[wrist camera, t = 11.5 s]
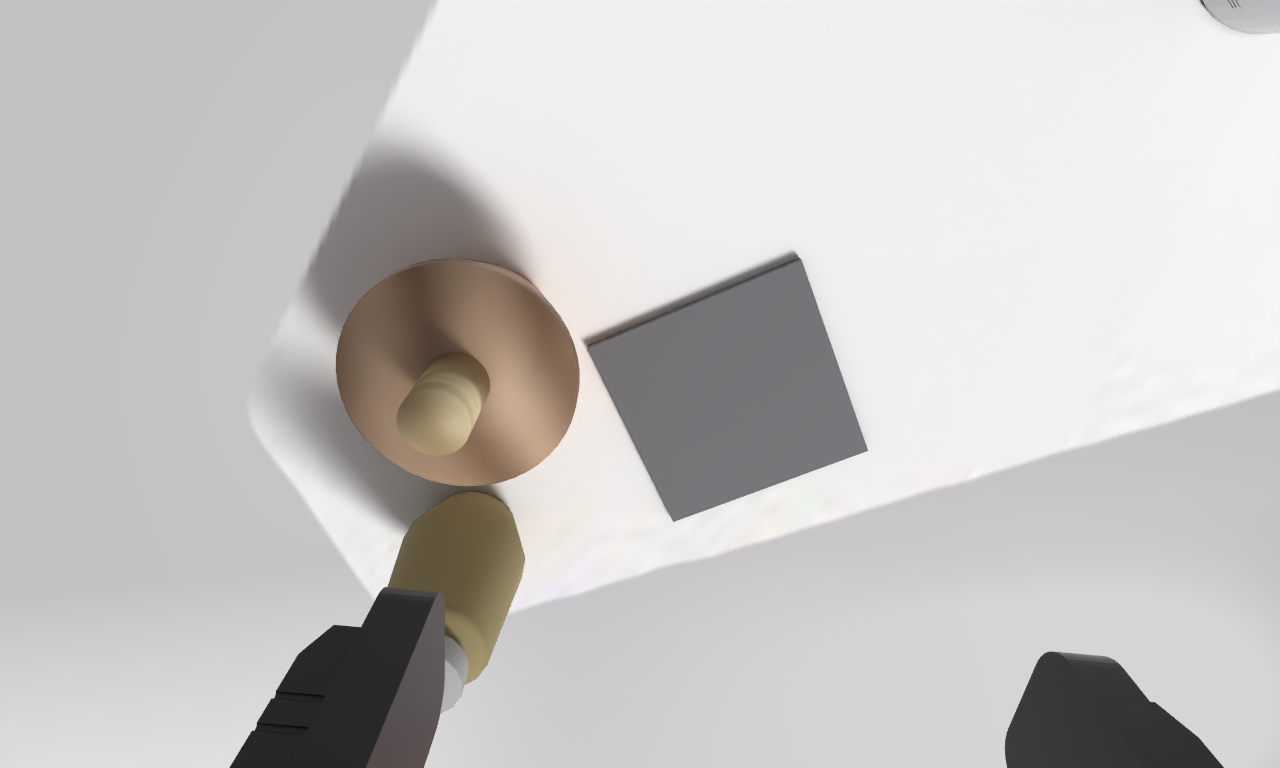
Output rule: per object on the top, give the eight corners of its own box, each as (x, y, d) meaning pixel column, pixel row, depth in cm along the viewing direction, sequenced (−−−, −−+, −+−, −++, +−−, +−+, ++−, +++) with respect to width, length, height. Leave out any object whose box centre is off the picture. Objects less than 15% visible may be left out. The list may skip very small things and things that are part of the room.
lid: (512, 218, 36) (489, 244, 31) (617, 427, 41) (614, 484, 35) (297, 316, 38) (237, 358, 33) (420, 505, 43) (388, 570, 37)
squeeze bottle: (549, 499, 49) (505, 711, 33) (510, 586, 52) (452, 821, 36) (436, 459, 48) (331, 659, 31) (403, 550, 51) (291, 777, 34)
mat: (799, 258, 43) (801, 259, 42) (865, 447, 48) (867, 450, 47) (588, 345, 45) (587, 348, 44) (673, 517, 50) (673, 522, 49)
